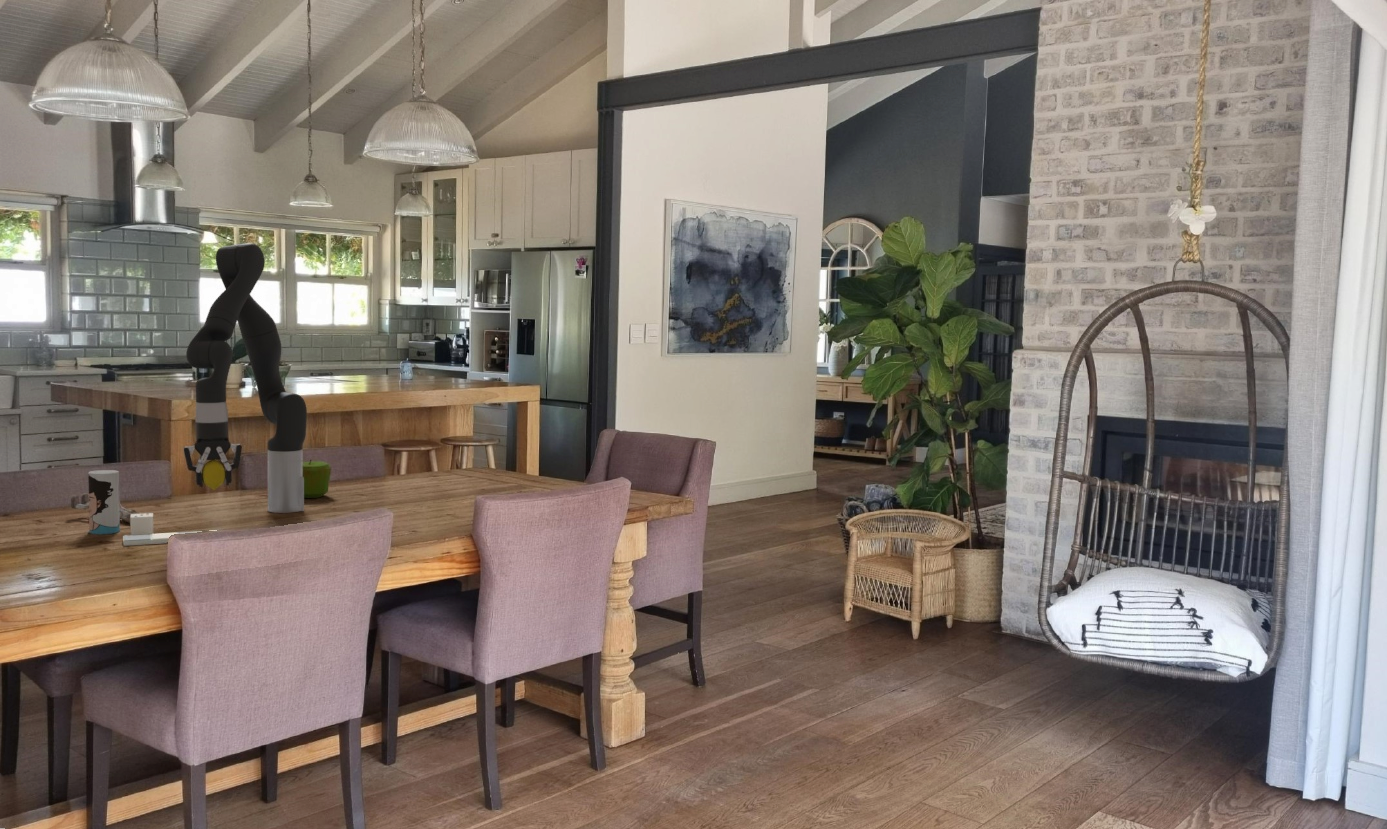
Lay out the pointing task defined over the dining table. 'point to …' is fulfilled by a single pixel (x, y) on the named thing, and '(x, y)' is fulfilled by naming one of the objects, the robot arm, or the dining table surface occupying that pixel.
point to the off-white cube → (141, 523)
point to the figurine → (84, 504)
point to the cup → (104, 502)
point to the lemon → (213, 474)
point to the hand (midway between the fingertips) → (213, 485)
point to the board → (150, 538)
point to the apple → (316, 478)
